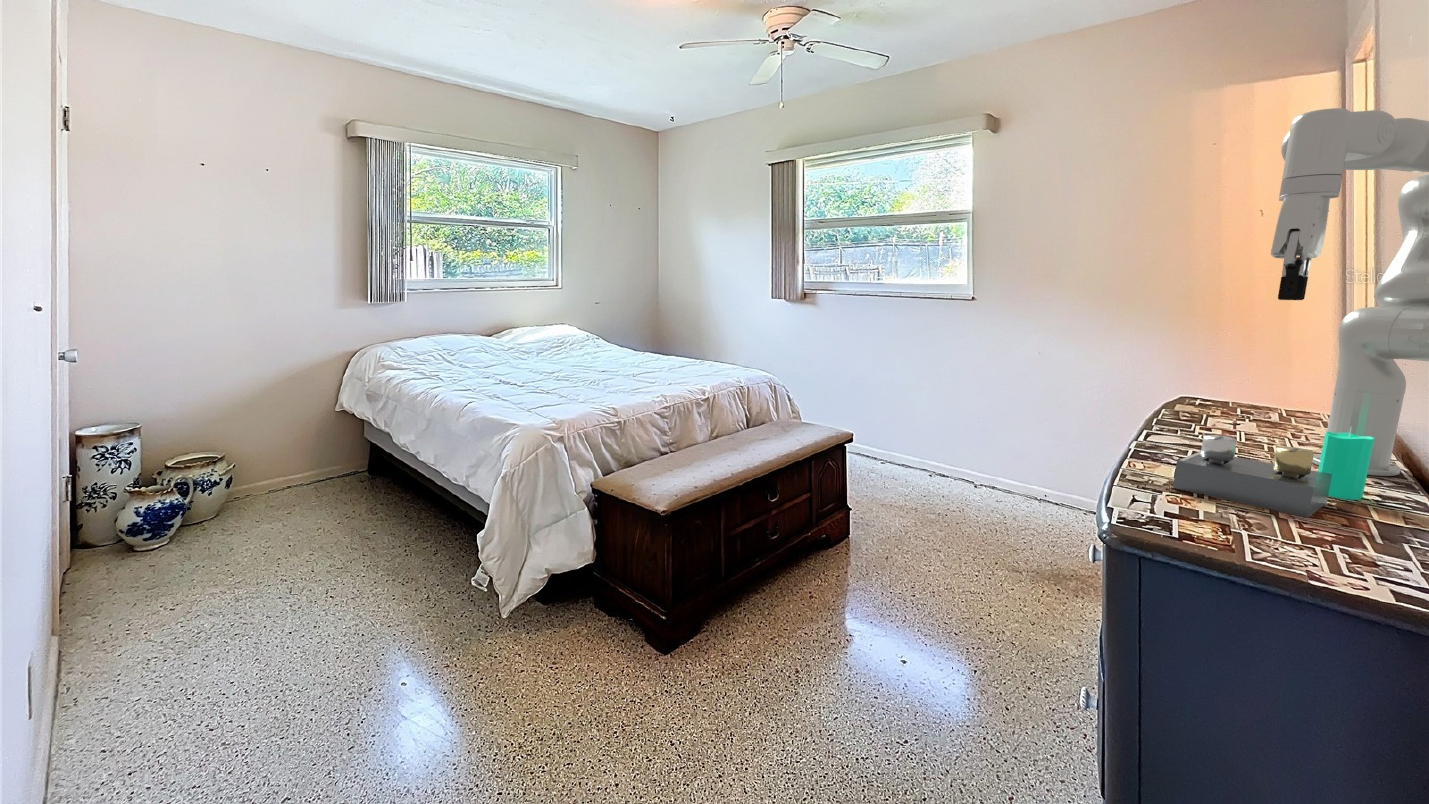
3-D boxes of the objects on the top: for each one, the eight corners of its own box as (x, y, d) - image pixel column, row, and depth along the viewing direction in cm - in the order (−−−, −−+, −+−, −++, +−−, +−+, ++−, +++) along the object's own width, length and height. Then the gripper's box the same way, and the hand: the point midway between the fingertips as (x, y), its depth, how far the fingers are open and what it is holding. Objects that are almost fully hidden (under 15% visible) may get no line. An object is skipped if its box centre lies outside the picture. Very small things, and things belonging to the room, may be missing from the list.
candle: (1372, 501, 107) (1386, 431, 104) (1330, 498, 108) (1343, 429, 106) (1345, 489, 112) (1358, 423, 110) (1305, 487, 114) (1317, 422, 111)
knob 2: (1272, 490, 108) (1280, 444, 107) (1308, 497, 104) (1317, 450, 103) (1264, 495, 105) (1272, 448, 104) (1301, 502, 102) (1310, 454, 100)
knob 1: (1202, 475, 116) (1208, 433, 114) (1233, 482, 112) (1240, 438, 111) (1192, 480, 113) (1199, 436, 112) (1224, 486, 110) (1231, 441, 108)
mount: (1197, 476, 120) (1201, 450, 119) (1326, 503, 105) (1332, 473, 104) (1172, 488, 113) (1176, 460, 112) (1307, 518, 98) (1313, 486, 97)
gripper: (1292, 195, 114) (1275, 299, 117) (1267, 188, 105) (1249, 299, 109) (1350, 191, 108) (1330, 300, 112) (1329, 182, 99) (1308, 301, 103)
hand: (1290, 299), depth 110 cm, fingers closed
